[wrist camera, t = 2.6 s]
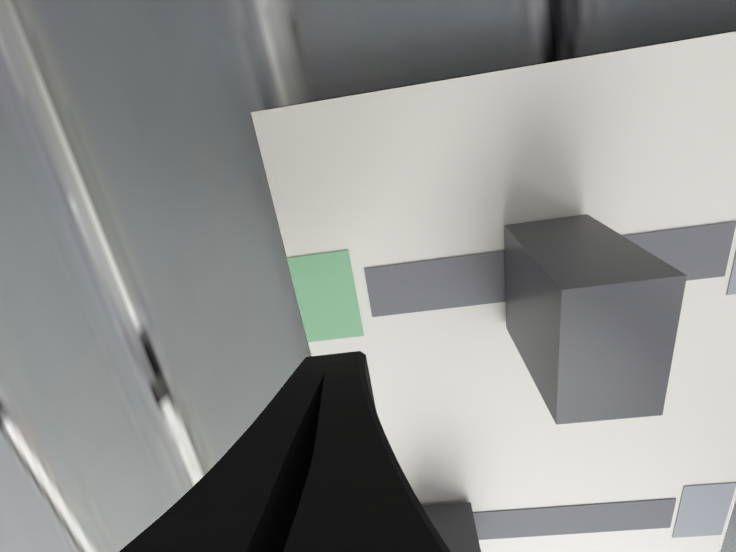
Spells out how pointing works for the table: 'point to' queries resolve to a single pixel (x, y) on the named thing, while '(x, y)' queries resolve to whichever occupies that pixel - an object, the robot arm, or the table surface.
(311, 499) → the robot arm
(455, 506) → the on handle
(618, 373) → the handle
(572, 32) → the table surface
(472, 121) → the switch plate
